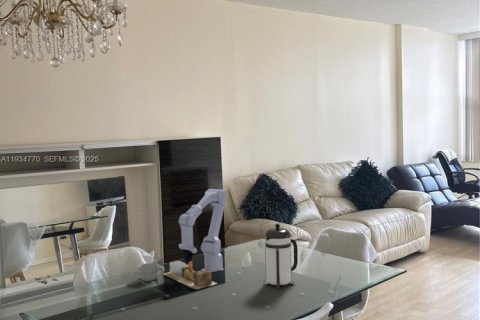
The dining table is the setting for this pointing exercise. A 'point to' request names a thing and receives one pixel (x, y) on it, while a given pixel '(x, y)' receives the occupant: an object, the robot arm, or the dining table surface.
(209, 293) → the dining table surface
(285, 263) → the coffee press
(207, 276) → the walnut socket
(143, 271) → the teacup
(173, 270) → the steel block
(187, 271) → the gold square bar
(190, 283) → the birch board
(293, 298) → the dining table surface
